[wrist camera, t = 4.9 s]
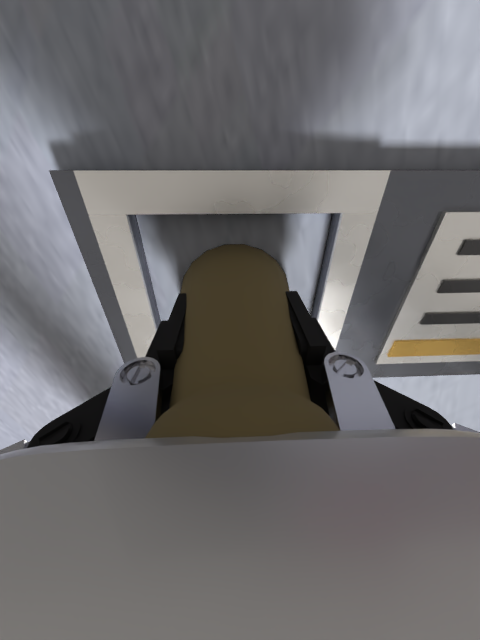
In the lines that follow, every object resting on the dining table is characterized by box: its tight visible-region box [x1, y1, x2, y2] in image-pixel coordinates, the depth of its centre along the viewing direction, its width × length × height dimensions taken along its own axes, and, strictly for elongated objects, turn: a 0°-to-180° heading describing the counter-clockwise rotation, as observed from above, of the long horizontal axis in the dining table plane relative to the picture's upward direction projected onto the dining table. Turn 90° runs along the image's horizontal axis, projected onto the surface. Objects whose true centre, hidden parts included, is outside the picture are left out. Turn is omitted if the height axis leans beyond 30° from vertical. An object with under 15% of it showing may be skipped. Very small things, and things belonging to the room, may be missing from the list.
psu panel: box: [49, 170, 480, 378], centre depth 13 cm, size 28×12×1 cm, turn 90°
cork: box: [145, 244, 340, 438], centre depth 8 cm, size 6×6×11 cm
